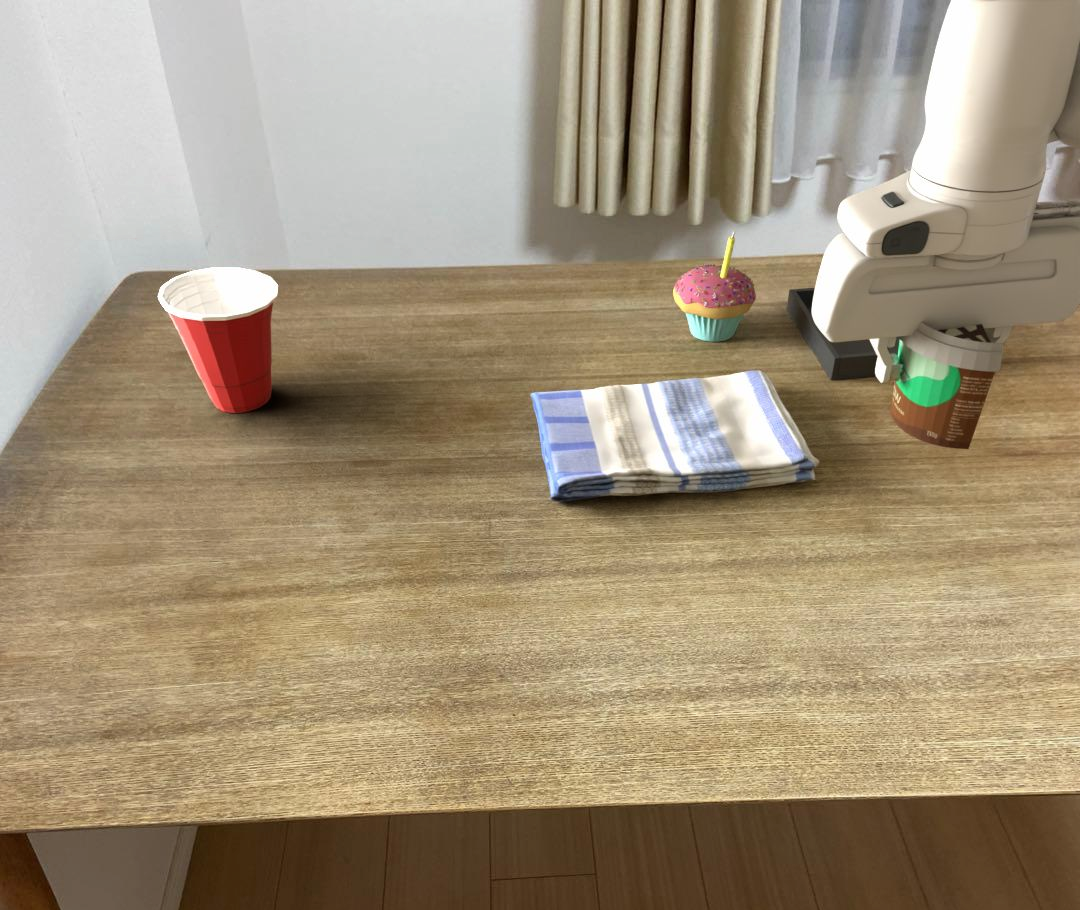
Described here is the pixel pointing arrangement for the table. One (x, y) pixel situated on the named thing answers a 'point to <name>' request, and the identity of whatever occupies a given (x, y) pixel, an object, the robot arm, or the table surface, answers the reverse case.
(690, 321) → the cupcake
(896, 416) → the food container
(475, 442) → the table surface
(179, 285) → the plastic cup
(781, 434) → the dish towel
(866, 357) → the tray
